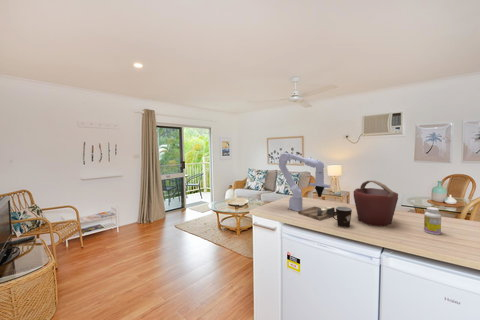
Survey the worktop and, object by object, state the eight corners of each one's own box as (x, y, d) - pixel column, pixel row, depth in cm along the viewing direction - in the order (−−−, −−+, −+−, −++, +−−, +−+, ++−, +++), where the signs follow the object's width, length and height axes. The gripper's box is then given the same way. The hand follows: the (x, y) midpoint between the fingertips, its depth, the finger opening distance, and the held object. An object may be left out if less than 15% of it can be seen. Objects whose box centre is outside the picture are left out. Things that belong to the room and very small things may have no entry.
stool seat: (298, 213, 149) (298, 205, 149) (314, 209, 159) (314, 201, 159) (320, 220, 134) (320, 211, 134) (337, 215, 144) (337, 206, 144)
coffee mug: (348, 222, 130) (348, 206, 129) (354, 228, 121) (354, 210, 120) (328, 222, 131) (328, 206, 130) (333, 227, 122) (333, 210, 122)
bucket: (404, 230, 116) (405, 184, 115) (360, 228, 121) (360, 184, 119) (383, 215, 140) (384, 178, 139) (347, 214, 145) (347, 178, 143)
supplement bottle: (423, 228, 117) (424, 205, 117) (440, 231, 113) (440, 207, 112) (424, 232, 112) (424, 208, 111) (441, 235, 108) (442, 211, 107)
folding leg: (322, 215, 138) (322, 210, 138) (318, 213, 140) (318, 209, 140) (333, 211, 144) (333, 207, 144) (329, 210, 147) (329, 206, 147)
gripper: (307, 177, 156) (307, 196, 156) (326, 179, 145) (326, 199, 146) (312, 176, 160) (312, 194, 161) (331, 178, 150) (331, 197, 151)
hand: (319, 196), depth 154 cm, fingers closed
